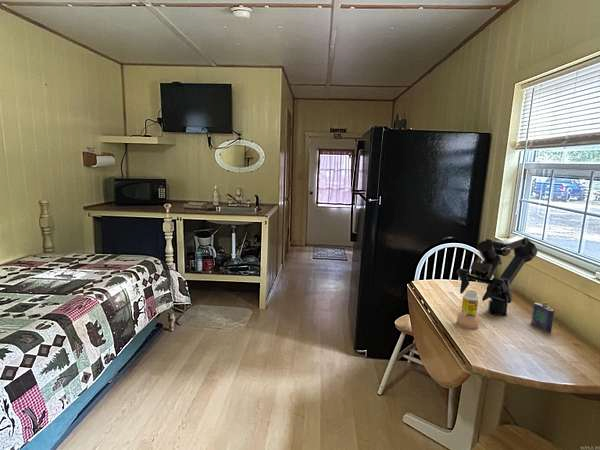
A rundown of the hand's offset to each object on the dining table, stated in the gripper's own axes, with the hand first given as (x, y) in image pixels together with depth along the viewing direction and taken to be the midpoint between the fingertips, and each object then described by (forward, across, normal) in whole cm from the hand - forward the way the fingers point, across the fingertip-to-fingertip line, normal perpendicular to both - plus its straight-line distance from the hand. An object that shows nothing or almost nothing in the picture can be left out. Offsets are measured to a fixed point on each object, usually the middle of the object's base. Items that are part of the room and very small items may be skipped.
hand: (471, 296), depth 144 cm
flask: (-8, +17, +26) cm, 32 cm away
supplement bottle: (+6, 0, +5) cm, 8 cm away
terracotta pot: (+9, 0, +8) cm, 12 cm away
